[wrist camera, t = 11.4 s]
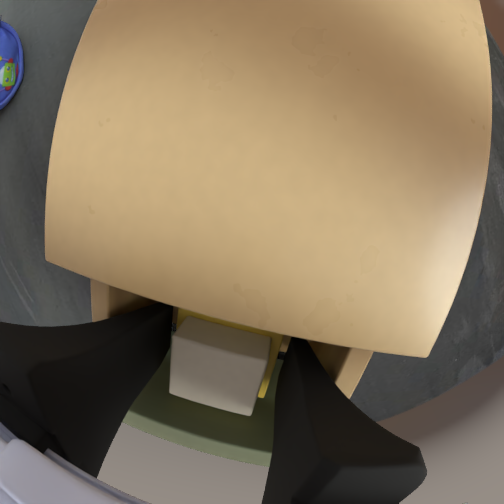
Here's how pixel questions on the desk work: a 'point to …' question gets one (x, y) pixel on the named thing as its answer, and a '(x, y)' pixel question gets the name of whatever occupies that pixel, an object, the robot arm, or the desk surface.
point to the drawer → (207, 417)
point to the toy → (221, 362)
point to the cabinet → (277, 161)
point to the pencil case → (9, 63)
